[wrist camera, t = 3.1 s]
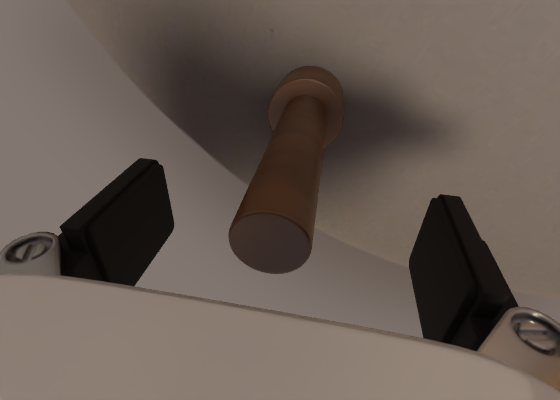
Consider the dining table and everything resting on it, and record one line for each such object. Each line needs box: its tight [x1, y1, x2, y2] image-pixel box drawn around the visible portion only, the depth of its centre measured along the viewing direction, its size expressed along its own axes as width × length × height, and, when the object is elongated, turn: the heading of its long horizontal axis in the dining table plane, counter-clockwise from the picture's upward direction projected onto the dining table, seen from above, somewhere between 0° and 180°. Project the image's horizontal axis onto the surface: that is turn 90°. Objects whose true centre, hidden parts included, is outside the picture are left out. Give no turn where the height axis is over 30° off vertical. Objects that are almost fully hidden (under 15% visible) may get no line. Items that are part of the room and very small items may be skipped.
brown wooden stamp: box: [229, 66, 344, 274], centre depth 16 cm, size 4×4×14 cm
